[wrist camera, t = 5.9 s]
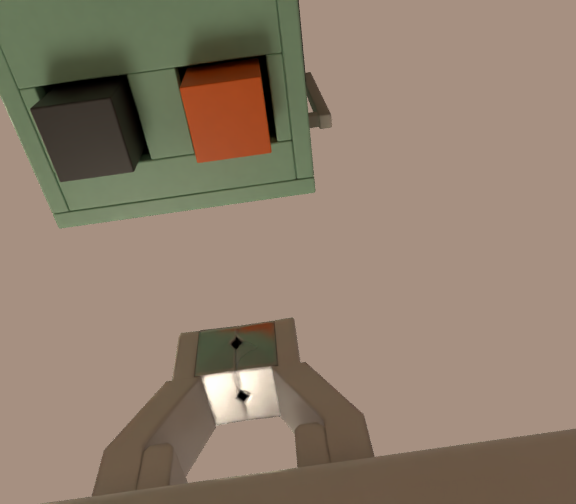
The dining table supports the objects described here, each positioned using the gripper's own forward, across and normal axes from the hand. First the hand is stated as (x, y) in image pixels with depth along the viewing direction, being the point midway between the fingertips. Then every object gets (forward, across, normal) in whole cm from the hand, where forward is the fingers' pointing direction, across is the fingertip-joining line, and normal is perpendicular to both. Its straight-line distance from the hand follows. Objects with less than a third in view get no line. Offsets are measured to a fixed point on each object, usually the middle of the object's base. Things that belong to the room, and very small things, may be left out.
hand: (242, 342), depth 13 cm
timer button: (+10, +6, -4) cm, 13 cm away
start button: (+10, 0, -4) cm, 11 cm away
